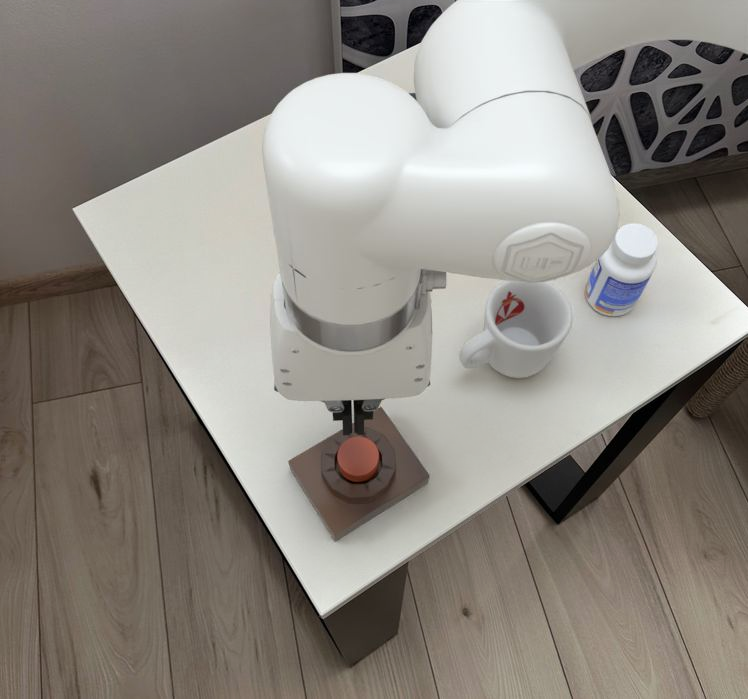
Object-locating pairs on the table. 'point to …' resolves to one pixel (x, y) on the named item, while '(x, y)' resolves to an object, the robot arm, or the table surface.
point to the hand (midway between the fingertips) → (352, 416)
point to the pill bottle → (622, 271)
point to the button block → (358, 499)
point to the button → (358, 459)
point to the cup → (520, 329)
